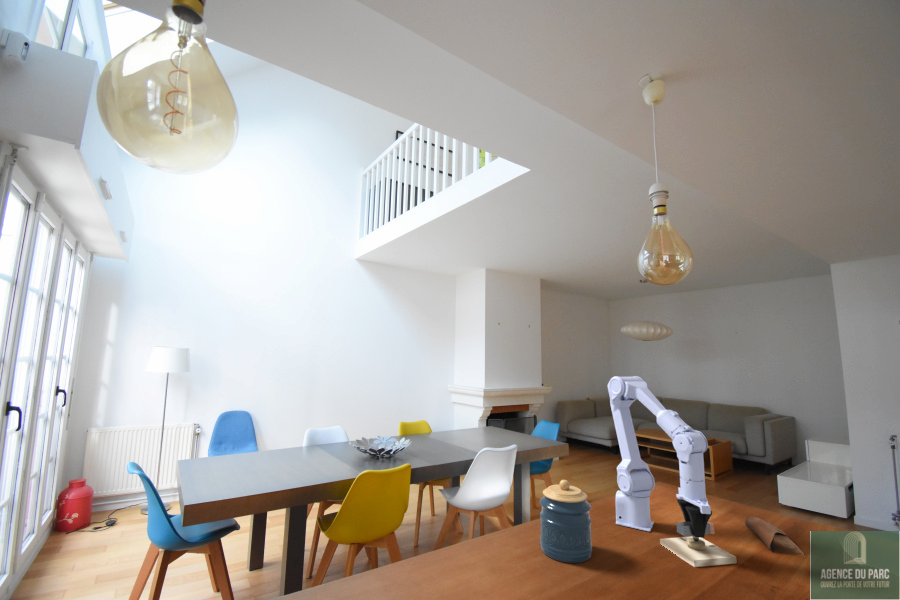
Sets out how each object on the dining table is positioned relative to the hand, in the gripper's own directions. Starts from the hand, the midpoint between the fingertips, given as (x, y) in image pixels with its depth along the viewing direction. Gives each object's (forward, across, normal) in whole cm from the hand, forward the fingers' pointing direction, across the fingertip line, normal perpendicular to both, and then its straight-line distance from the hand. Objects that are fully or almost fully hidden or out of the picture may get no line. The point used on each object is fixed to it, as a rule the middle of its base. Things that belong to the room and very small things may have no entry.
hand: (695, 533), depth 107 cm
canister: (+5, +5, -33) cm, 34 cm away
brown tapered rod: (+6, -13, +25) cm, 29 cm away
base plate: (+5, 0, 0) cm, 5 cm away
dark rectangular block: (+2, 0, 0) cm, 2 cm away
